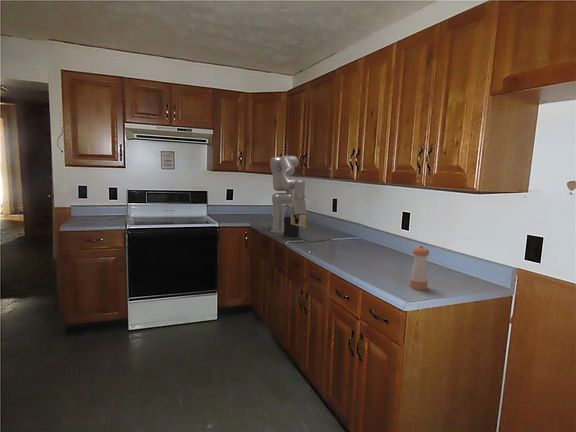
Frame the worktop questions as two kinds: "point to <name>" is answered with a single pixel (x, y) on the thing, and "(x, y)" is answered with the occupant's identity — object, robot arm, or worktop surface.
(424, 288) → the pepper shaker
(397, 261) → the worktop surface
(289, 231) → the calculator
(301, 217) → the candy box
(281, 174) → the robot arm
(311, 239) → the mat
